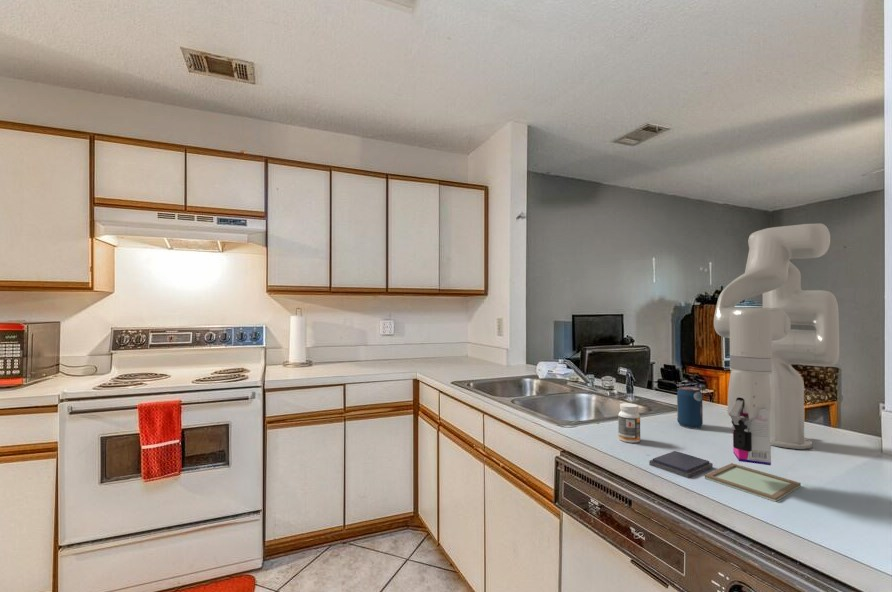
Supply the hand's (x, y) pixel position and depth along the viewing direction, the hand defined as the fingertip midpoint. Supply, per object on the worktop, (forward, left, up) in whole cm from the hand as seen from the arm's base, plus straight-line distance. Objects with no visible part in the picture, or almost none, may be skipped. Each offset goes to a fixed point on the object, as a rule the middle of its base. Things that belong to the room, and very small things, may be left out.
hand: (751, 445), depth 90 cm
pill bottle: (-3, -31, -8) cm, 32 cm away
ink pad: (+4, -13, -8) cm, 16 cm away
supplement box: (0, 0, -3) cm, 3 cm away
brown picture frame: (0, 0, -8) cm, 8 cm away
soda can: (-32, -29, -8) cm, 44 cm away
